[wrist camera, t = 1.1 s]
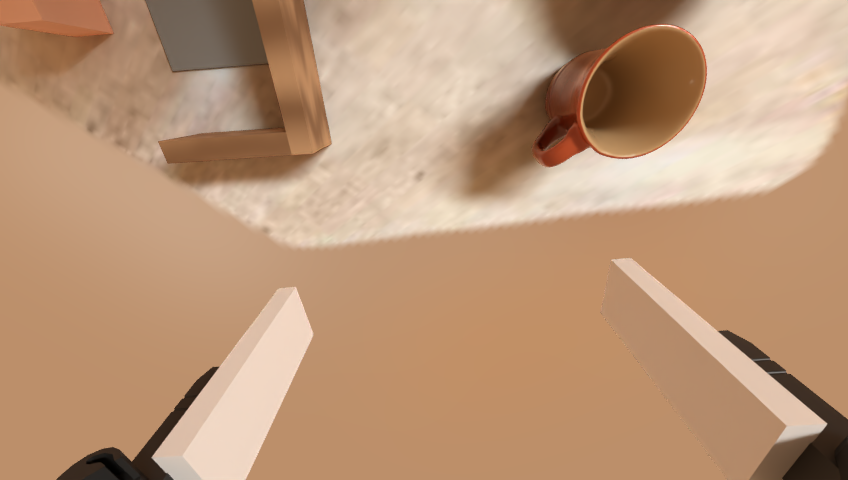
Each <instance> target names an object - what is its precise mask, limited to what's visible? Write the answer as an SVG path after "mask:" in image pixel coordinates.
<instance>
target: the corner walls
mask: <svg viewBox="0 0 848 480" xmlns="http://www.w3.org/2000/svg"><path fill="white" fill-rule="evenodd" d="M252 2H253V6H254V10H255V13H256V17H257V21H258V25H259V29H260V33H261V37H262V41H263V45H264V48H265V52H266V56H267V60H268V64H269V68H270V72H271V76H272V80H273V83H274V87H275V91H276V95H277V99H278V103H279V107H280V111H281V115H282V118H283V122H284V126H285V128H271V129H257V130H243V131H229V132H215V133H202V134H196V135H191V136H185V137H180V138H175V139H169V140H164V141H158V143H159V145H160V147H161V149H162V152H163V154H164V156H165V158H166V161H167V163H182V162H197V161H211V160H226V159H241V158H256V157H270V156H285V155H300V154H313V153H315V152H317V151H319V150H321V149H323V148H324V147H326V146H328V145H330V144H332V143H331V137H330V132H329V127H328V122H327V117H326V112H325V107H324V102H323V97H322V92H321V87H320V81H319V76H318V71H317V66H316V61H315V56H314V51H313V46H312V41H311V36H310V30H309V25H308V20H307V15H306V10H305V5H304V0H252Z"/></svg>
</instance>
